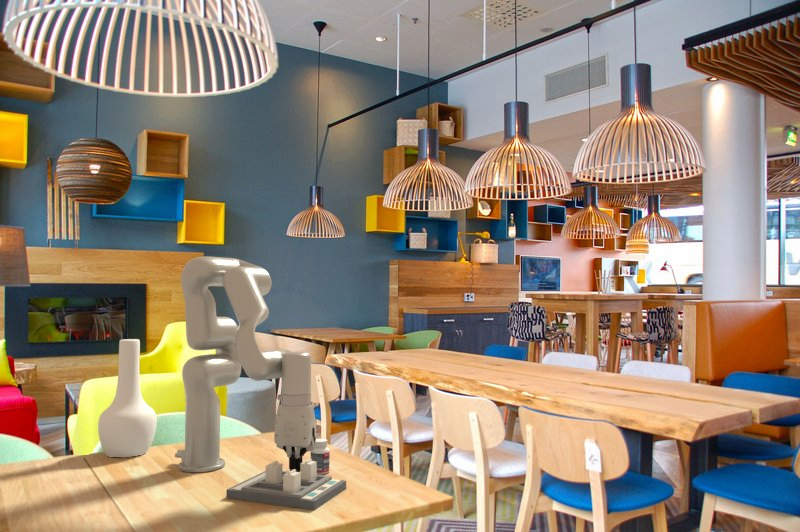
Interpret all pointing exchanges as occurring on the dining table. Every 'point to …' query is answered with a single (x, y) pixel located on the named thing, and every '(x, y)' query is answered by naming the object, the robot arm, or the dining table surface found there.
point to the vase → (127, 409)
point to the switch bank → (273, 493)
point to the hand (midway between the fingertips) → (295, 472)
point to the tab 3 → (308, 470)
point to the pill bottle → (321, 456)
